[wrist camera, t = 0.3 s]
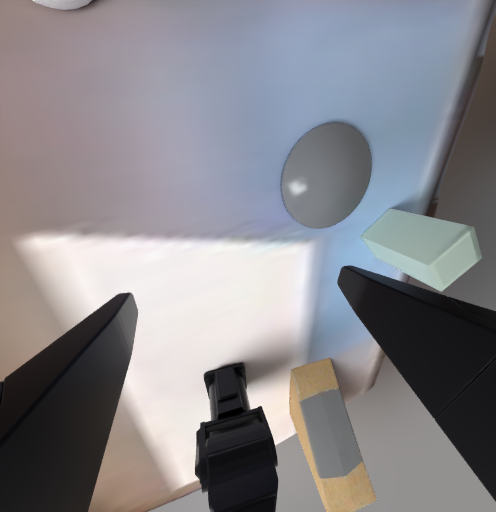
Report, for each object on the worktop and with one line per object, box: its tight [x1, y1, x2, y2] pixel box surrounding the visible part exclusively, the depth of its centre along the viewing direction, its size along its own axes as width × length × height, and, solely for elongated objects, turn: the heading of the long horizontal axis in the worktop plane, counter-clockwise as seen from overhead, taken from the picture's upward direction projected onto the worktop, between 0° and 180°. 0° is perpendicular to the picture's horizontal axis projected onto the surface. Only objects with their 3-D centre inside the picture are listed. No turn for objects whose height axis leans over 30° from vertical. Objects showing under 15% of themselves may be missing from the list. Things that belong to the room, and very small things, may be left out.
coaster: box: [281, 122, 371, 229], centre depth 22 cm, size 11×11×1 cm
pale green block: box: [360, 208, 482, 292], centre depth 24 cm, size 5×5×9 cm
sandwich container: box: [289, 358, 376, 512], centre depth 34 cm, size 9×15×15 cm, turn 5°
